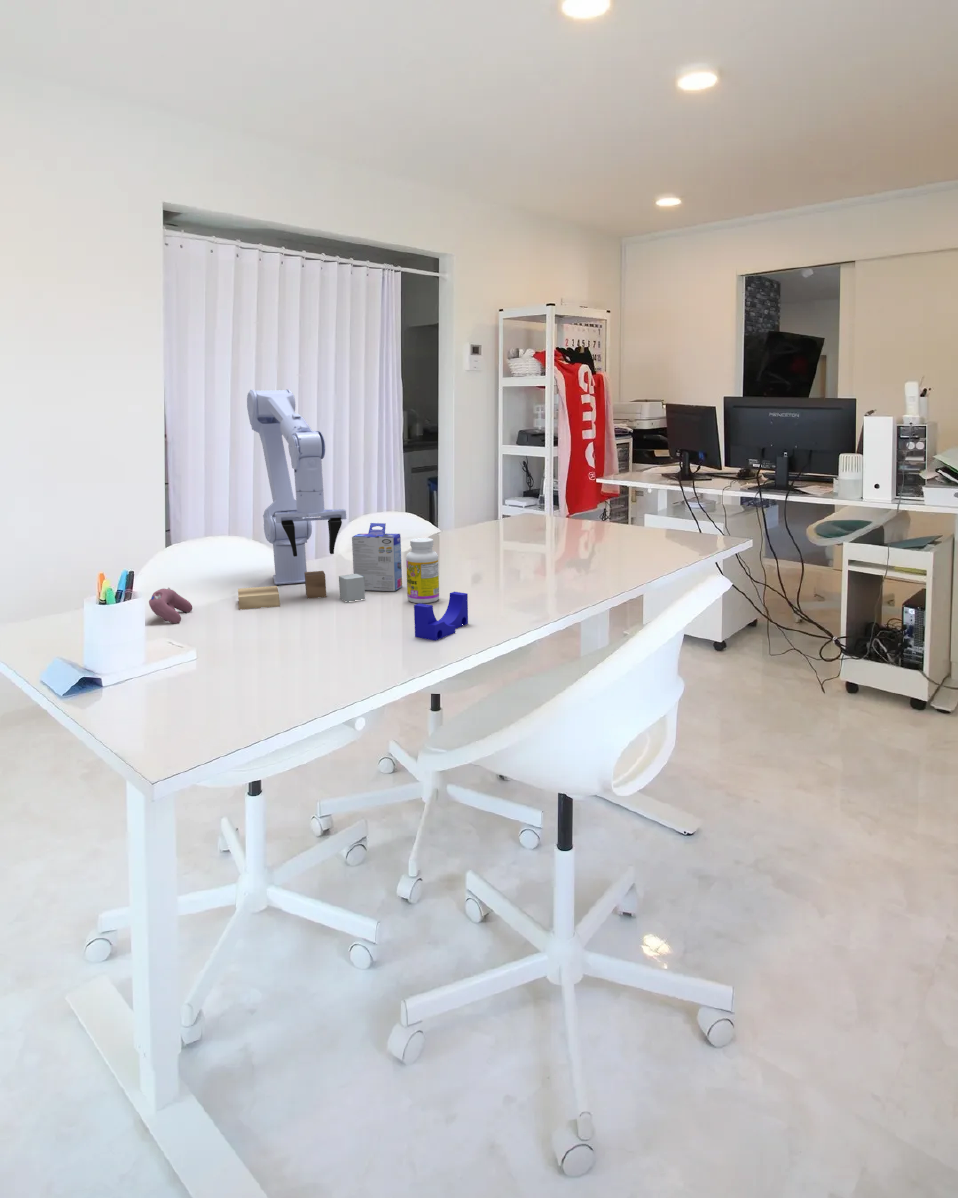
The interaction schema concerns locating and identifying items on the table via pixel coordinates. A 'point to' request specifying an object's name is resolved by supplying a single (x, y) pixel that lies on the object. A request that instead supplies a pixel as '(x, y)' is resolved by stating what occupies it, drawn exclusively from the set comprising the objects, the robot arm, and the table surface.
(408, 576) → the supplement bottle
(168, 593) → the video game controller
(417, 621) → the blue cradle holder
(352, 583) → the grey block
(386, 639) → the table surface
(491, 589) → the table surface
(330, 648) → the table surface
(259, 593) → the oak slab
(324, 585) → the walnut block
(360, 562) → the ink cartridge box
